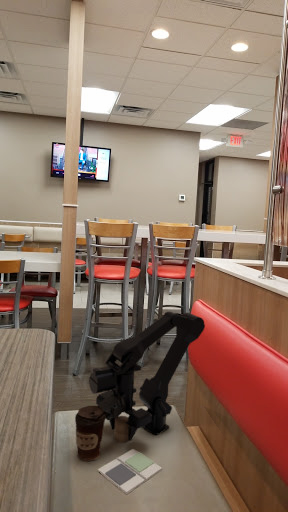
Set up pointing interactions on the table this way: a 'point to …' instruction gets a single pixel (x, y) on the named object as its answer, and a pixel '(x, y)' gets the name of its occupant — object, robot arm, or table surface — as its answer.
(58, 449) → the table surface
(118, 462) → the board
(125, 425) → the brown tapered cylinder
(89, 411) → the coffee cup
